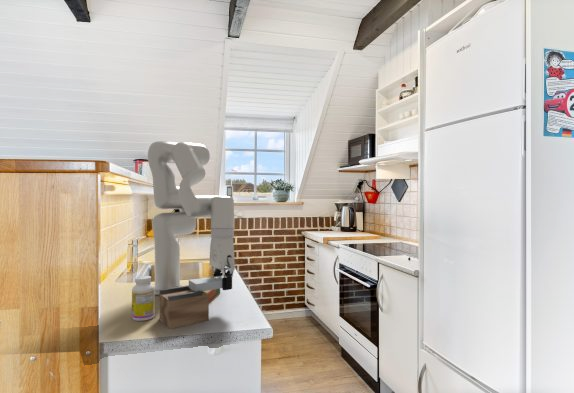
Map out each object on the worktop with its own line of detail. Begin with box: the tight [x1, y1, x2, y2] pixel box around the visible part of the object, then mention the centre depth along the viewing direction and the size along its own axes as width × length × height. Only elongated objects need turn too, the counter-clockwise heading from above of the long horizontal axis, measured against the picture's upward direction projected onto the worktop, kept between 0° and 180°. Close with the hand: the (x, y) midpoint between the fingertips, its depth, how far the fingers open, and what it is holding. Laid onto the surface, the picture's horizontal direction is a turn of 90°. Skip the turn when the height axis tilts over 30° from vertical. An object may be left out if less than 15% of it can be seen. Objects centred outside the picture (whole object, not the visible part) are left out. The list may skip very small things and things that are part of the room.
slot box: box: [159, 284, 210, 330], centre depth 110 cm, size 10×12×9 cm
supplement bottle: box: [131, 275, 156, 322], centre depth 112 cm, size 7×7×13 cm
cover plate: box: [188, 275, 224, 291], centre depth 115 cm, size 6×12×2 cm, turn 125°
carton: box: [203, 288, 221, 304], centre depth 133 cm, size 8×16×4 cm, turn 174°
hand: (222, 286), depth 118 cm, fingers closed on cover plate, 6 cm apart
